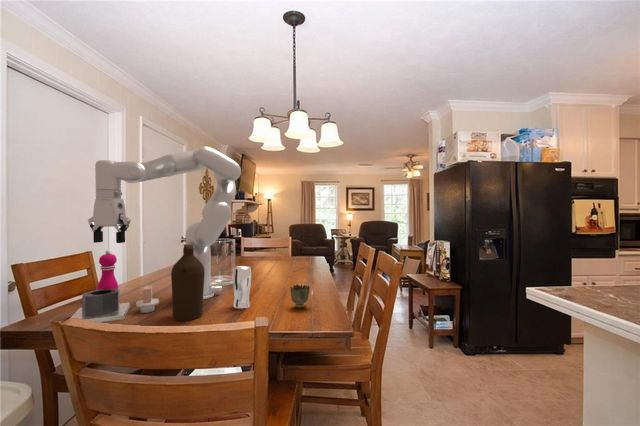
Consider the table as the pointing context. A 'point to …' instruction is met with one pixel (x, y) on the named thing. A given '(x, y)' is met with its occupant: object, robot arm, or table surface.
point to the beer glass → (241, 286)
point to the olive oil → (187, 286)
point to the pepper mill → (107, 271)
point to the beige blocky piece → (147, 301)
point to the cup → (299, 295)
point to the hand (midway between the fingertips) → (109, 242)
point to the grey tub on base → (102, 306)
